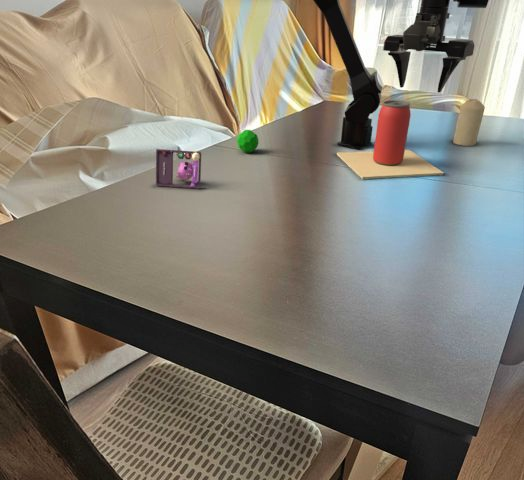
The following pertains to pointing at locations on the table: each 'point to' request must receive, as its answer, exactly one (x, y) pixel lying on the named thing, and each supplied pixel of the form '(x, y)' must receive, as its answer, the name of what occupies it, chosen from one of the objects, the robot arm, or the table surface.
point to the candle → (469, 122)
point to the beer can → (391, 132)
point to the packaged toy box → (185, 169)
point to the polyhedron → (247, 141)
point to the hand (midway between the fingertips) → (420, 89)
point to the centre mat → (388, 166)
